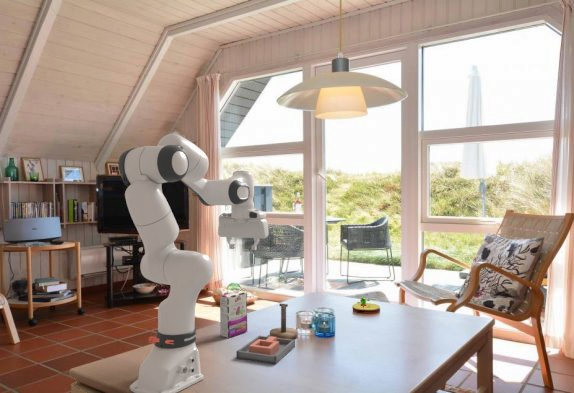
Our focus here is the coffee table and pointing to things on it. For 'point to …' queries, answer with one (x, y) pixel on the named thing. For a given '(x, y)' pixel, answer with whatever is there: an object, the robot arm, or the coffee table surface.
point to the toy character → (363, 302)
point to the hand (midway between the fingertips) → (242, 249)
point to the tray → (284, 349)
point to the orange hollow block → (265, 346)
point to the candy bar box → (233, 314)
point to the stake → (284, 327)
